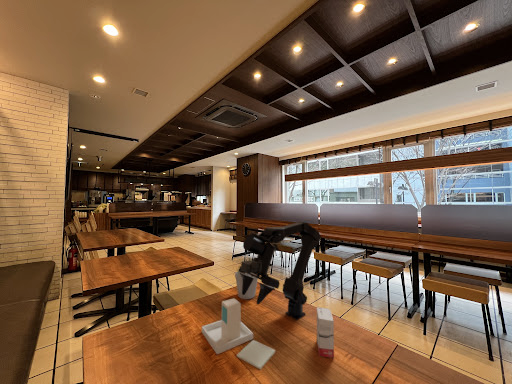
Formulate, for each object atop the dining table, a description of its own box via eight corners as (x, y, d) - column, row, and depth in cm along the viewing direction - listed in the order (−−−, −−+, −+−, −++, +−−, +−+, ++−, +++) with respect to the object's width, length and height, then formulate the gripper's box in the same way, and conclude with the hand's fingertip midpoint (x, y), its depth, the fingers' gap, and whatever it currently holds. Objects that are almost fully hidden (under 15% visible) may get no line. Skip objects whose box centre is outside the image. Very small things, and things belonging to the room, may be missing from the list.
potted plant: (260, 301, 105) (261, 261, 106) (233, 301, 106) (233, 260, 106) (260, 291, 118) (261, 254, 119) (236, 290, 118) (236, 254, 119)
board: (253, 342, 75) (253, 339, 75) (275, 353, 70) (275, 350, 70) (236, 358, 68) (236, 354, 68) (260, 371, 62) (260, 367, 63)
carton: (233, 333, 79) (234, 298, 80) (240, 341, 75) (240, 303, 76) (220, 338, 76) (221, 301, 77) (227, 346, 72) (227, 307, 73)
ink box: (334, 359, 68) (334, 321, 68) (318, 356, 69) (318, 319, 69) (330, 341, 76) (330, 307, 77) (316, 339, 77) (316, 306, 77)
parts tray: (234, 321, 88) (234, 315, 88) (253, 340, 76) (253, 333, 76) (201, 333, 80) (201, 326, 80) (216, 355, 68) (217, 347, 69)
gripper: (236, 247, 87) (220, 286, 82) (265, 257, 72) (248, 305, 67) (255, 255, 93) (242, 292, 88) (286, 266, 78) (272, 311, 73)
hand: (249, 299), depth 79 cm, fingers open, 9 cm apart
